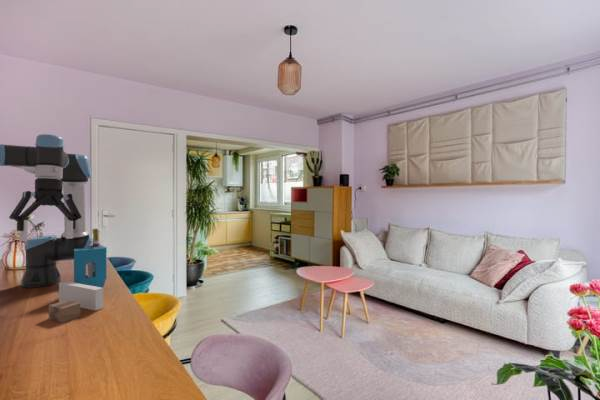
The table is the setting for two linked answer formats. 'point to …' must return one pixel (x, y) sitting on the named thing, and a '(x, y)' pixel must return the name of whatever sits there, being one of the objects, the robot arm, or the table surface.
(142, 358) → the table surface
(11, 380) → the table surface
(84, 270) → the block
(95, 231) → the liquor
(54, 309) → the walnut block
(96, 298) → the grey board
